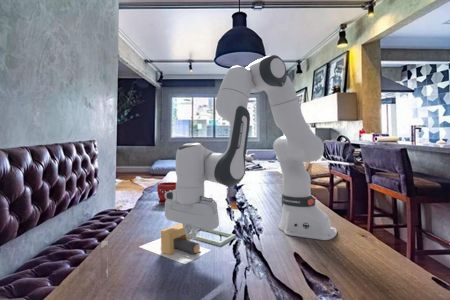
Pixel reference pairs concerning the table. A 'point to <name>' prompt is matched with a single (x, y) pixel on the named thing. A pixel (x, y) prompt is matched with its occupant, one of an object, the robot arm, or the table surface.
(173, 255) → the station
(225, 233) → the green rectangular frame
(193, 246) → the battery
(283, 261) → the table surface
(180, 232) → the wooden bridge piece
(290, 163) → the robot arm
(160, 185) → the plant pot
